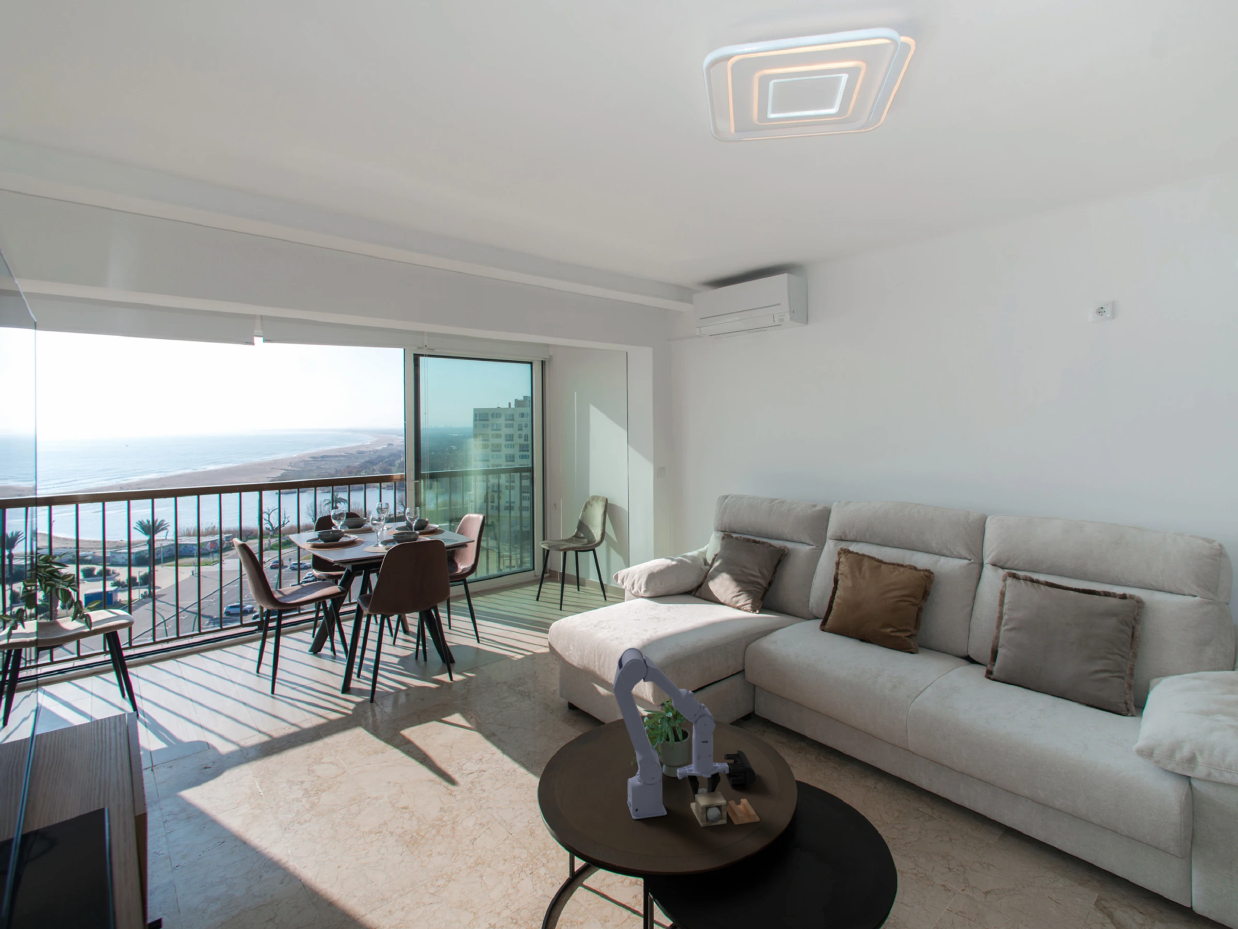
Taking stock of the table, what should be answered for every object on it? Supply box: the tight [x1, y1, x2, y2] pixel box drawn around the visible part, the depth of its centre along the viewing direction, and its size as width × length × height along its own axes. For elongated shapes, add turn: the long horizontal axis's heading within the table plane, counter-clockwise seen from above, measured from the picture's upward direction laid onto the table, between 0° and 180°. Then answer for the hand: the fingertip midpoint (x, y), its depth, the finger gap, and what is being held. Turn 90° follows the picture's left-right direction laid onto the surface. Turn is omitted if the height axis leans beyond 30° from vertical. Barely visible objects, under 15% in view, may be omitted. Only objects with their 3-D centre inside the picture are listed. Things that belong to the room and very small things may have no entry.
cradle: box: [726, 798, 761, 825], centre depth 162 cm, size 7×7×2 cm
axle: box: [698, 787, 721, 823], centre depth 162 cm, size 10×4×4 cm, turn 11°
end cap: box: [723, 750, 757, 790], centre depth 179 cm, size 10×7×7 cm
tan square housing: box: [690, 791, 727, 828], centre depth 162 cm, size 7×9×6 cm
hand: (703, 800), depth 167 cm, fingers closed on axle, 4 cm apart
